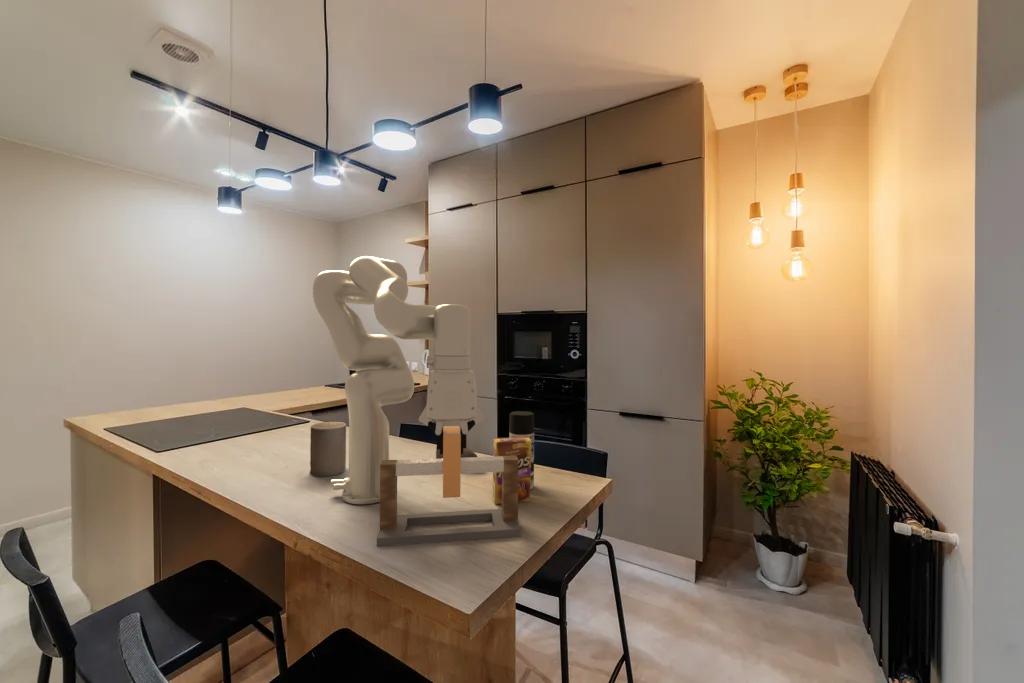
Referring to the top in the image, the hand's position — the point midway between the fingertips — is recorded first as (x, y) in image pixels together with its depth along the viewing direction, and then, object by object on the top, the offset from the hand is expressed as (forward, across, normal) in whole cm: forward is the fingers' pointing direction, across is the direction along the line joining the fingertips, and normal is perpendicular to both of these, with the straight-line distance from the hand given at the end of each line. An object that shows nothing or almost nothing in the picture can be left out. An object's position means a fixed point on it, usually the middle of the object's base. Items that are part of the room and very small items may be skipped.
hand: (451, 451), depth 84 cm
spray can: (+17, +19, +21) cm, 33 cm away
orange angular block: (+8, 0, 0) cm, 8 cm away
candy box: (+17, +15, +13) cm, 26 cm away
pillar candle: (+16, -35, +41) cm, 56 cm away
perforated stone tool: (+16, +3, +40) cm, 43 cm away
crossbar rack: (+16, 0, 0) cm, 16 cm away
